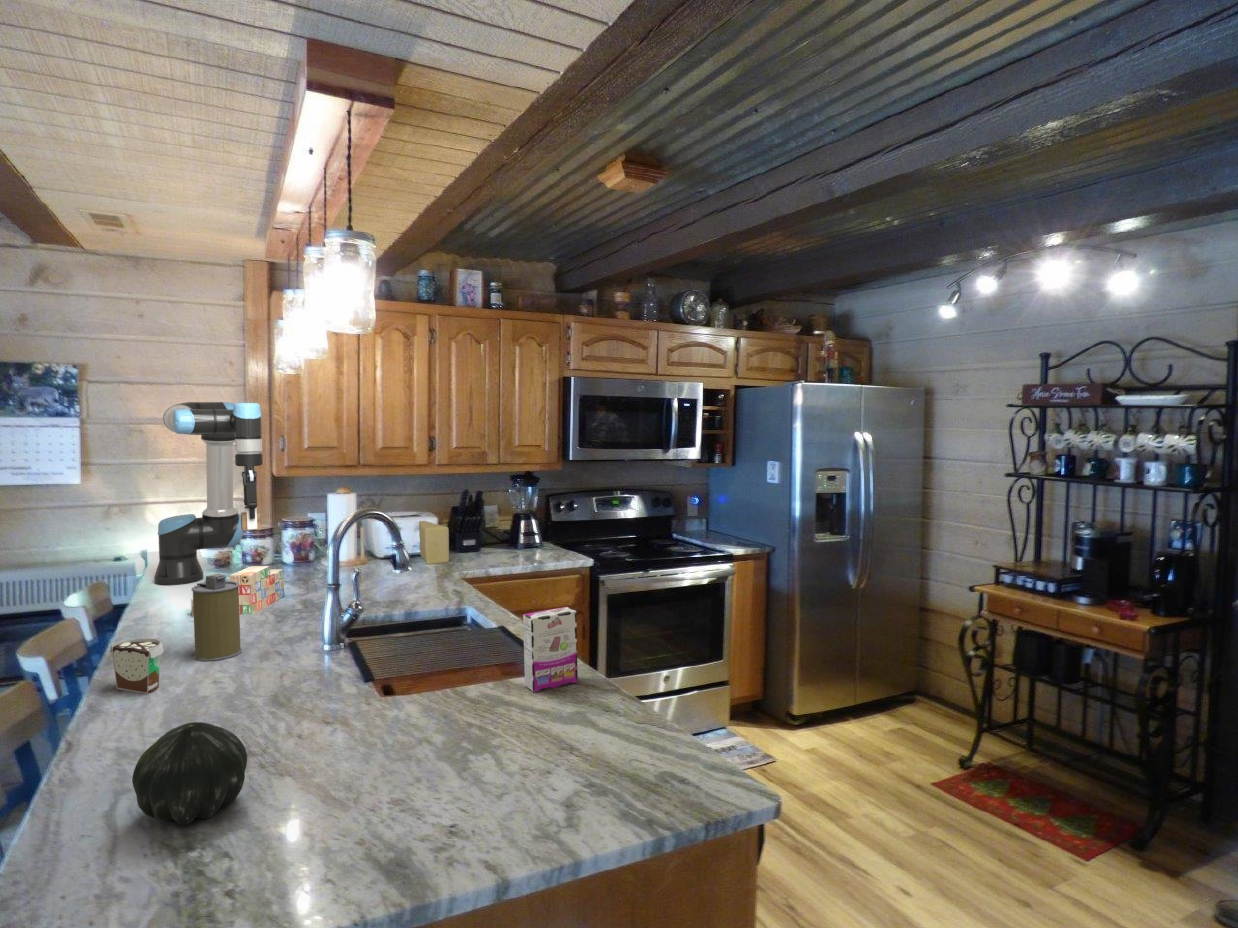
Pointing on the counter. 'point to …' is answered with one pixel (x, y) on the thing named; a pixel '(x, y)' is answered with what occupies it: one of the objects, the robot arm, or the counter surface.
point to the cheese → (434, 542)
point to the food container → (137, 664)
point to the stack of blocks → (258, 587)
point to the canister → (216, 619)
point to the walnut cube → (244, 521)
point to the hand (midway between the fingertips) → (251, 527)
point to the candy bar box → (550, 648)
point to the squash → (190, 773)
